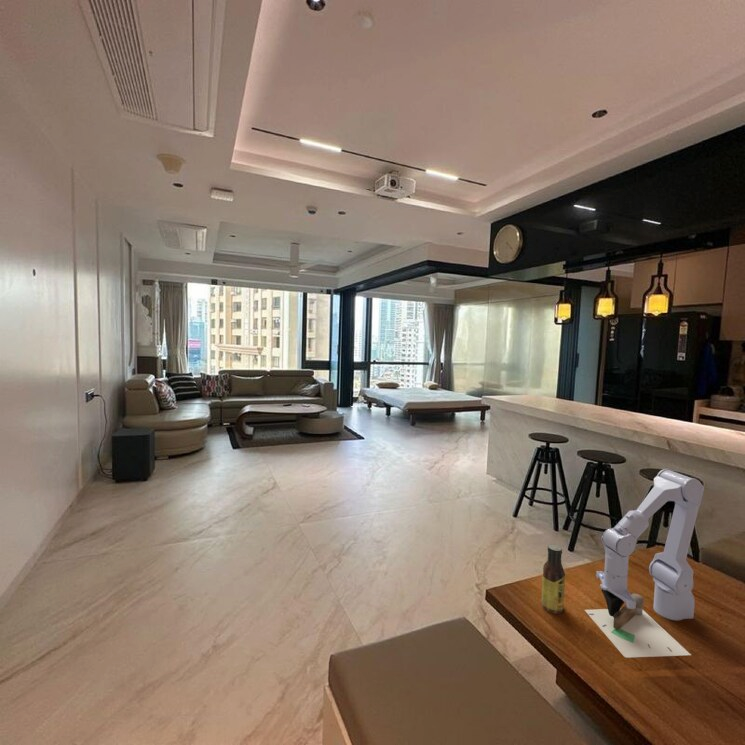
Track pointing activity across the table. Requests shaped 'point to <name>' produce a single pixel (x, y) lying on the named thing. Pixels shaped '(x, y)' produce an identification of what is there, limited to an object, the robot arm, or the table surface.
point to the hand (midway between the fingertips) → (613, 615)
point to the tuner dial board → (638, 636)
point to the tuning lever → (628, 612)
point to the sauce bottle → (553, 581)
